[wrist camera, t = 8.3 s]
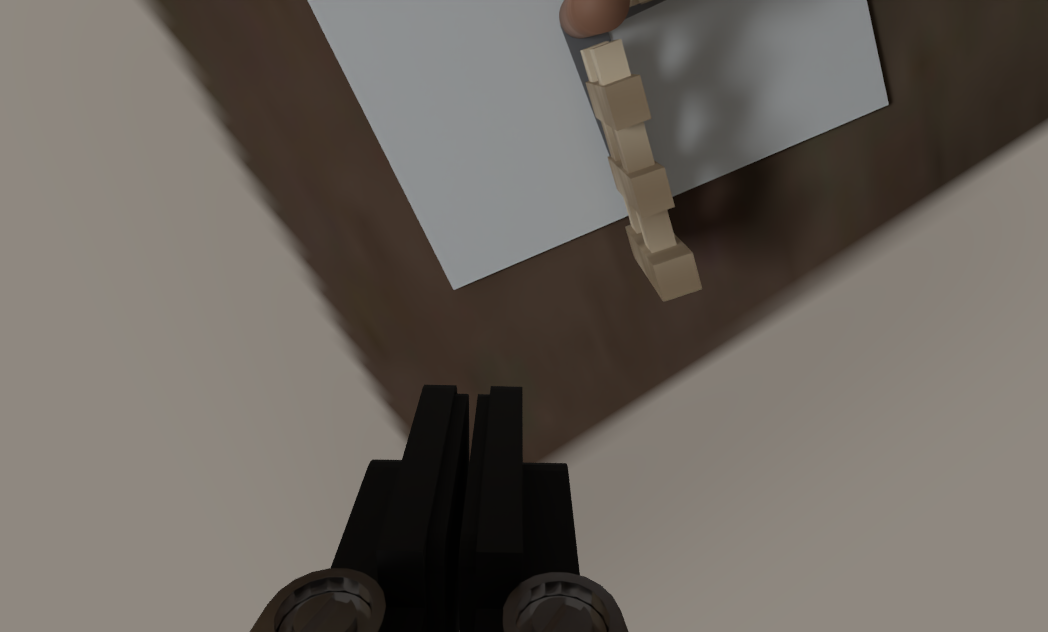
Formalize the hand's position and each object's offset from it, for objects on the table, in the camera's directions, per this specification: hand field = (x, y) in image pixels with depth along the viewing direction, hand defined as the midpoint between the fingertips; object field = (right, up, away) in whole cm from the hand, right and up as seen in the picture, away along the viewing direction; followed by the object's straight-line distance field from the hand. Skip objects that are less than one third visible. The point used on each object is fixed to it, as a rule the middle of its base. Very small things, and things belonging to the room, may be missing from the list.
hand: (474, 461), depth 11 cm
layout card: (+3, +13, +11) cm, 17 cm away
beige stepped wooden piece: (+4, +9, +12) cm, 15 cm away
